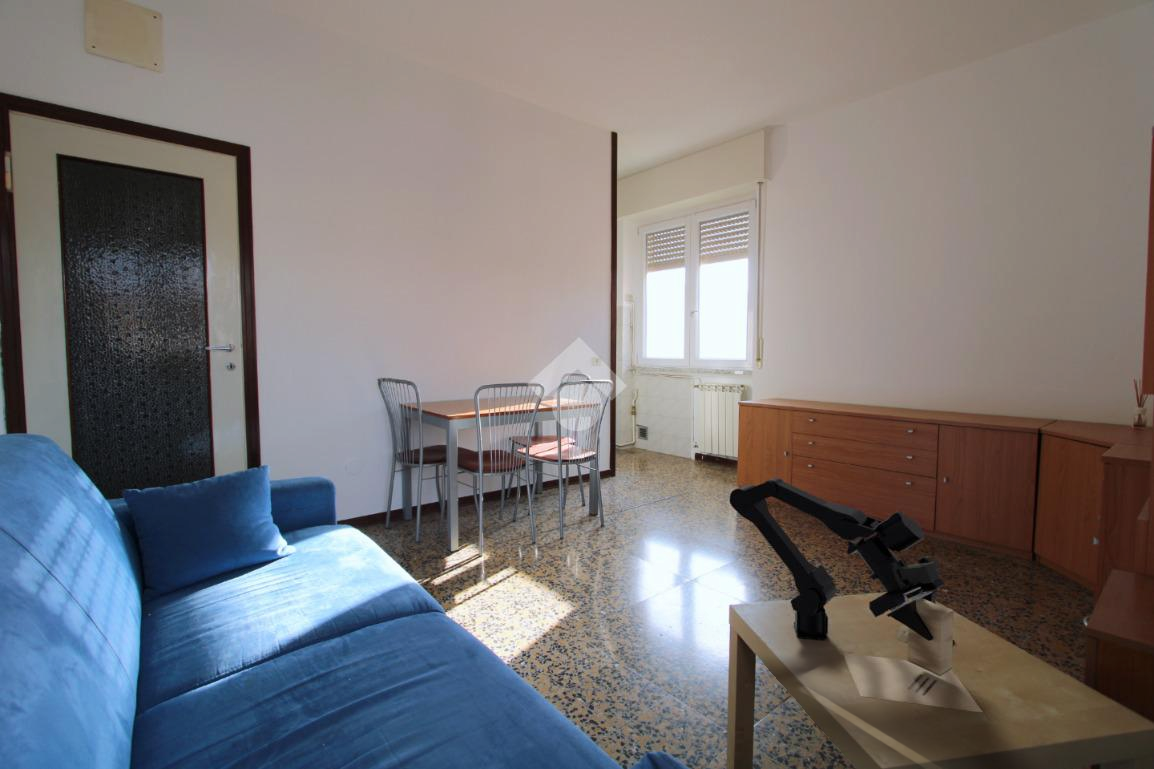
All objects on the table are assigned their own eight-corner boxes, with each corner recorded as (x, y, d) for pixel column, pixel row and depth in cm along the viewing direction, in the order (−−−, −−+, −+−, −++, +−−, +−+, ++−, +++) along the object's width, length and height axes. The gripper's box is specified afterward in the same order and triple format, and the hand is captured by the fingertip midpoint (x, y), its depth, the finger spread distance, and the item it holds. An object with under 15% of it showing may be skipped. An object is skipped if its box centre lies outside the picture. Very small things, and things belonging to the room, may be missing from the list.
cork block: (907, 661, 108) (909, 603, 107) (919, 654, 110) (921, 598, 109) (939, 676, 103) (941, 616, 102) (951, 669, 105) (953, 610, 104)
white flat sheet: (860, 702, 101) (860, 696, 101) (842, 658, 115) (842, 652, 115) (982, 718, 96) (983, 712, 96) (947, 670, 110) (948, 664, 110)
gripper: (885, 554, 104) (946, 634, 95) (935, 536, 113) (994, 608, 104) (846, 579, 111) (899, 655, 102) (896, 560, 120) (949, 629, 112)
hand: (937, 636), depth 105 cm, fingers closed on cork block, 4 cm apart
